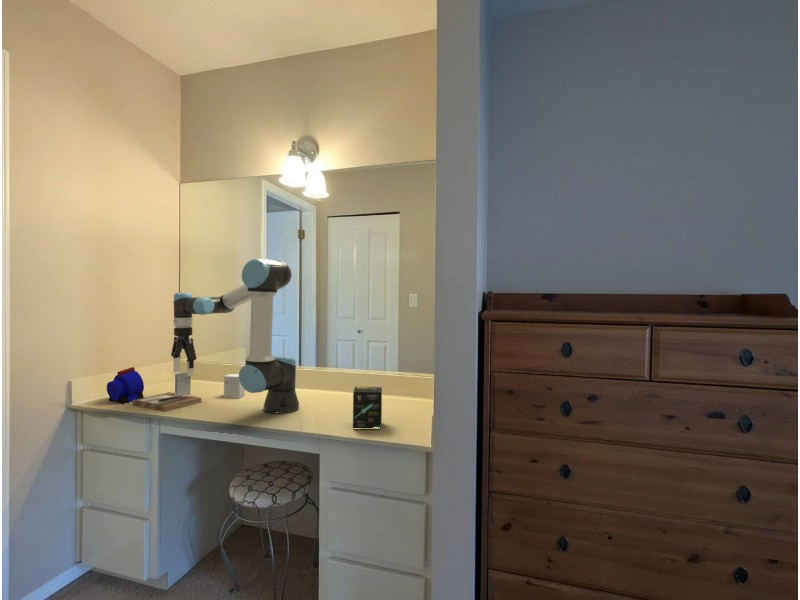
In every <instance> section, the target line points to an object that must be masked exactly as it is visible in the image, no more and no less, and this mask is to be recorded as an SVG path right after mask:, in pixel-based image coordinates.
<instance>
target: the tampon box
mask: <svg viewBox="0 0 800 600" xmlns="http://www.w3.org/2000/svg"><path fill="white" fill-rule="evenodd" d="M382 392H383V388H382V386H355V387H354V389H353V395H352V396H353V398H352V399H353V401H352V403H353V404H352V429H353V428H373V427H378V428H379V427H381V428H382V415H383V412H382V410H383V408H382V405H383V400H382V399H383V395H382Z"/></svg>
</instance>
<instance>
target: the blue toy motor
mask: <svg viewBox="0 0 800 600" xmlns="http://www.w3.org/2000/svg"><path fill="white" fill-rule="evenodd" d="M144 389H145V384H144V380H143V378H142V376H141V374H140V373H139V372H138V371H136V369H135V367H134V366H131V367H129V368H125V369H123V370H120V371H117V374H116V375H115V376H114V378H113V380H110V381H109V382H107V384H106V392H107V394H108V397H109V398H108V401H109V400H110V401H114V402H115V401H116V402H117V401H120V403H122V404H123V405H126V404H125V403H128V404H130V403H129V402H132V400H136V399H141V398H145V396H144V393H143V392H144Z"/></svg>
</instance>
